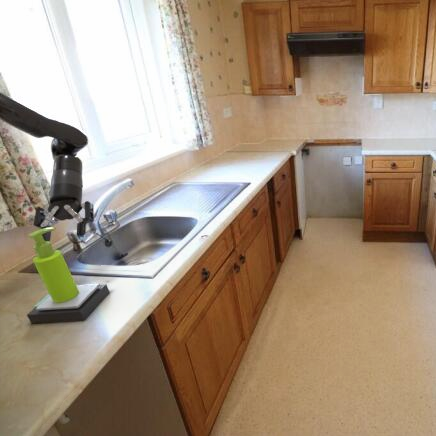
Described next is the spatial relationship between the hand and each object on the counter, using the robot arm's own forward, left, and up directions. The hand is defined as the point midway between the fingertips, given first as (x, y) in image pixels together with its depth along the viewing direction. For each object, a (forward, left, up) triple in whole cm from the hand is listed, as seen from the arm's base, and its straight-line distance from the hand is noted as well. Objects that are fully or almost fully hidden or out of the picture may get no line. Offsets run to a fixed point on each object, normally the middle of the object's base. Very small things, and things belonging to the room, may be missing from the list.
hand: (63, 238), depth 92 cm
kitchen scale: (+2, -9, -18) cm, 20 cm away
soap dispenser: (+2, -8, -14) cm, 16 cm away
